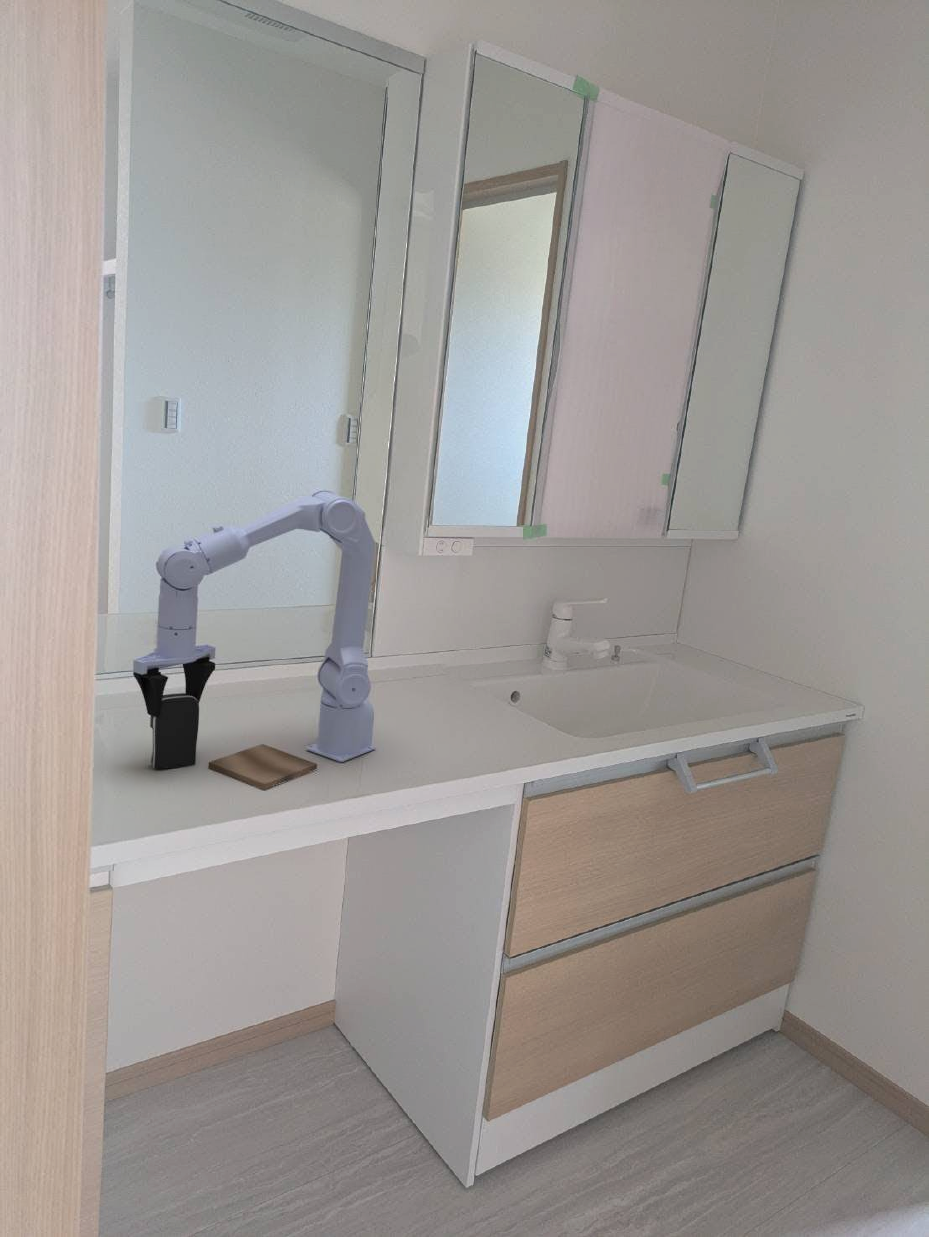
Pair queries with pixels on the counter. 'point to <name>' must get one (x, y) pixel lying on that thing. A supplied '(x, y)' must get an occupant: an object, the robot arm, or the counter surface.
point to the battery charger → (175, 731)
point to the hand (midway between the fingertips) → (173, 709)
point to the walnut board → (262, 766)
